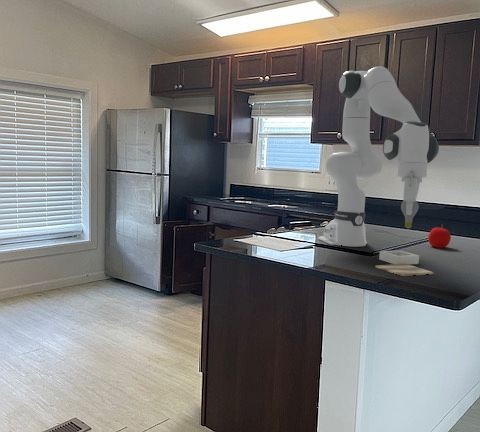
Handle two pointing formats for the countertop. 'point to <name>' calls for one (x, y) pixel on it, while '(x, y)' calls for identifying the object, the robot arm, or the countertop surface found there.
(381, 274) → the countertop surface
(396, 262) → the socket
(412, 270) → the board
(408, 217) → the light bulb
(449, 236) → the fruit
